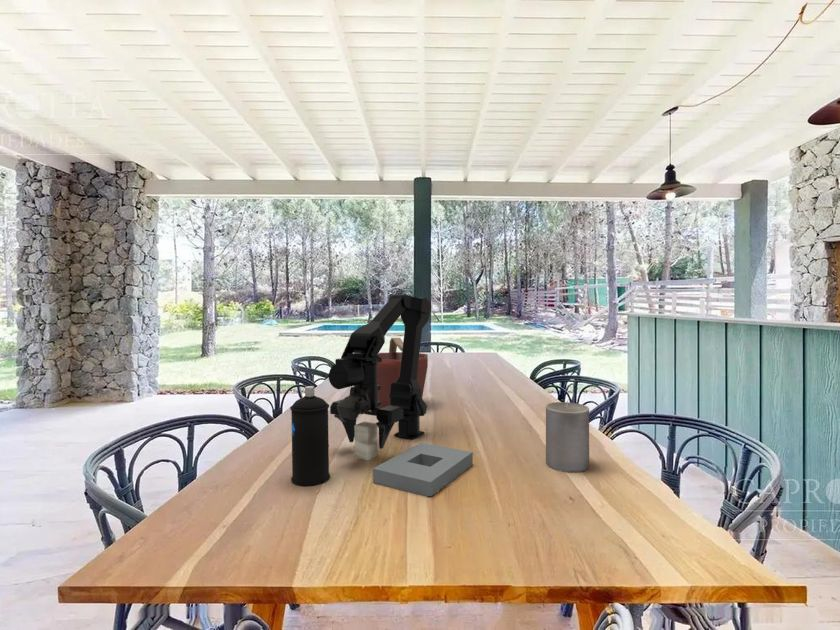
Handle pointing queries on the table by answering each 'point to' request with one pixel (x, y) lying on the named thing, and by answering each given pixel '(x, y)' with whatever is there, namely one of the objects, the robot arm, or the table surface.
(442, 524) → the table surface
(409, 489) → the socket block
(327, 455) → the aerosol can
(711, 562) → the table surface
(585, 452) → the pillar candle
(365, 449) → the cream peg
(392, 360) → the bucket
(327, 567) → the table surface
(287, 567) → the table surface
